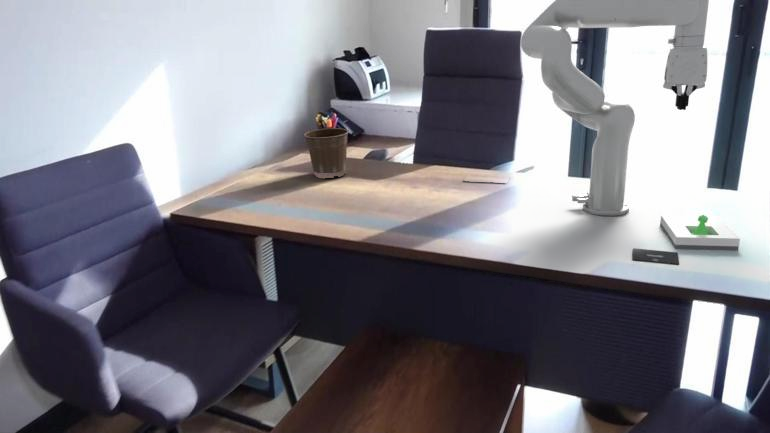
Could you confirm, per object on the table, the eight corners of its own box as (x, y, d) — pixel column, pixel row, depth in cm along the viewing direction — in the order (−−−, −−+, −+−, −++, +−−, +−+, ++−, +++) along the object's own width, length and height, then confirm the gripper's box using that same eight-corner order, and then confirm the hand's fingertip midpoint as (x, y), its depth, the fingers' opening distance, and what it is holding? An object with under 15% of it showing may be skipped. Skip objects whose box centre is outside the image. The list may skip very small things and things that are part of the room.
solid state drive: (679, 266, 139) (679, 263, 139) (632, 261, 143) (632, 259, 143) (677, 254, 145) (677, 252, 145) (632, 250, 149) (632, 248, 149)
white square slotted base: (675, 248, 148) (676, 237, 147) (659, 225, 163) (661, 215, 162) (738, 250, 145) (739, 238, 144) (716, 226, 160) (718, 216, 159)
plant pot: (302, 181, 221) (298, 137, 216) (314, 169, 236) (310, 128, 231) (346, 181, 218) (342, 136, 213) (355, 169, 233) (352, 127, 228)
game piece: (689, 234, 154) (692, 211, 152) (708, 235, 152) (711, 212, 150) (691, 240, 150) (694, 217, 148) (711, 241, 149) (714, 218, 147)
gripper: (662, 44, 165) (656, 111, 171) (722, 42, 162) (713, 111, 168) (656, 42, 172) (650, 107, 178) (714, 40, 169) (705, 106, 175)
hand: (681, 108), depth 173 cm, fingers closed
